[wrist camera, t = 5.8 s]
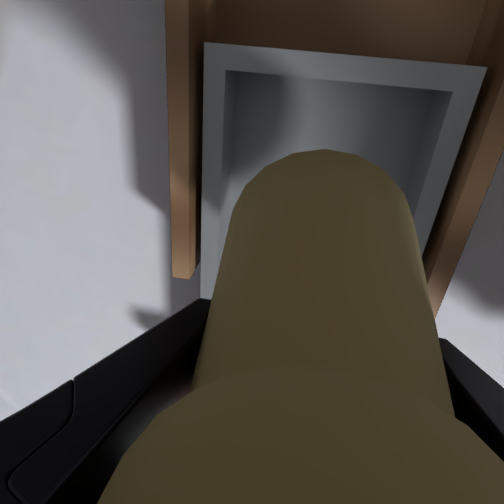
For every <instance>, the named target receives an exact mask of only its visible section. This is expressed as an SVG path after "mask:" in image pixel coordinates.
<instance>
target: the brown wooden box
mask: <svg viewBox="0 0 504 504" xmlns="http://www.w3.org/2000/svg"><path fill="white" fill-rule="evenodd" d="M165 27H166V63H167V98H168V134H169V170H170V205H171V241H172V277H177V278H183V279H190V277H191V275H192V274H193V272H194V270H195V269H196V267H197V265H198V264H199V262H200V260H201V213H202V147H203V82H204V42H209V43H221V44H232V45H243V46H255V47H266V48H277V49H288V50H300V51H311V52H322V53H334V54H345V55H356V56H367V57H379V58H390V59H401V60H413V61H424V62H435V63H446V64H458V65H469V66H480V67H487V70H486V73H485V76H484V79H483V82H482V85H481V88H480V90H479V93H478V96H477V99H476V102H475V105H474V108H473V111H472V113H471V116H470V119H469V122H468V125H467V128H466V131H465V134H464V136H463V139H462V142H461V145H460V148H459V151H458V154H457V157H456V160H455V162H454V165H453V168H452V171H451V174H450V177H449V180H448V183H447V185H446V188H445V191H444V194H443V197H442V200H441V203H440V206H439V208H438V211H437V214H436V217H435V220H434V223H433V226H432V229H431V231H430V234H429V237H428V240H427V243H426V246H425V249H424V252H423V255H422V262H423V267H424V272H425V276H426V281H427V286H428V291H429V295H430V300H431V305H432V310H433V314H434V319H435V318H436V315H437V313H438V310H439V308H440V305H441V303H442V300H443V298H444V295H445V293H446V291H447V288H448V286H449V283H450V281H451V278H452V276H453V273H454V271H455V268H456V266H457V263H458V261H459V258H460V256H461V254H462V251H463V249H464V246H465V244H466V241H467V239H468V236H469V234H470V231H471V229H472V226H473V224H474V221H475V219H476V217H477V214H478V212H479V209H480V207H481V204H482V202H483V199H484V197H485V194H486V192H487V189H488V187H489V184H490V182H491V179H492V177H493V175H494V172H495V170H496V167H497V165H498V162H499V160H500V157H501V155H502V152H503V150H504V0H165Z"/></svg>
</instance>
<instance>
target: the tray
mask: <svg viewBox="0 0 504 504" xmlns="http://www.w3.org/2000/svg"><path fill="white" fill-rule="evenodd" d="M486 70H487V67H480V66H469V65H458V64H446V63H435V62H424V61H413V60H401V59H390V58H379V57H367V56H356V55H345V54H334V53H322V52H311V51H300V50H288V49H277V48H266V47H255V46H243V45H232V44H221V43H209V42H204V82H203V147H202V213H201V278H200V298H205V299H212V295H213V291H214V287H215V282H216V278H217V274H218V270H219V265H220V261H221V257H222V253H223V248H224V244H225V240H226V236H227V231H228V227H229V223H230V219H231V214H232V210H233V208H234V206H235V204H236V202H237V200H238V198H239V196H240V194H241V192H242V191H243V189H244V187H245V185H246V184H247V183H248V182H250V181H251V180H252V179H253V178H254V177H255V176H256V175H257V174H258V173H259V172H260V171H261V170H262V169H263V168H264V167H265V166H267V165H269V164H271V163H273V162H275V161H277V160H280V159H282V158H284V157H286V156H288V155H290V154H292V153H296V152H304V151H312V150H320V149H329V150H334V151H340V152H345V153H350V154H355V155H358V156H360V157H362V158H364V159H366V160H367V161H369V162H371V163H373V164H374V165H376V166H378V167H380V168H381V169H383V170H385V171H386V172H387V174H388V175H389V176H390V177H391V178H392V179H393V181H394V182H395V183H396V184H397V185H398V187H399V188H400V189H401V190H402V191H403V192H404V194H405V197H406V200H407V203H408V205H409V208H410V211H411V214H412V217H413V220H414V224H415V229H416V234H417V238H418V243H419V248H420V253H421V257H422V255H423V252H424V249H425V246H426V243H427V240H428V237H429V234H430V231H431V229H432V226H433V223H434V220H435V217H436V214H437V211H438V208H439V206H440V203H441V200H442V197H443V194H444V191H445V188H446V185H447V183H448V180H449V177H450V174H451V171H452V168H453V165H454V162H455V160H456V157H457V154H458V151H459V148H460V145H461V142H462V139H463V136H464V134H465V131H466V128H467V125H468V122H469V119H470V116H471V113H472V111H473V108H474V105H475V102H476V99H477V96H478V93H479V90H480V88H481V85H482V82H483V79H484V76H485V73H486Z"/></svg>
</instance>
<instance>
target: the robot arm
mask: <svg viewBox="0 0 504 504" xmlns="http://www.w3.org/2000/svg"><path fill="white" fill-rule="evenodd" d="M210 303H211V299H205V298H199V299H197V300H195V301H194V302H192V303H191V304H189V305H187V306H186V307H184V308H183V309H181V310H179V311H178V312H176V313H175V314H173V315H172V316H170V317H168V318H167V319H165V320H164V321H162V322H161V323H159V324H157V325H156V326H154V327H153V328H151V329H149V330H148V331H146V332H145V333H143V334H142V335H140V336H138V337H137V338H135V339H134V340H132V341H131V342H129V343H127V344H126V345H124V346H123V347H121V348H120V349H118V350H116V351H115V352H113V353H112V354H110V355H108V356H107V357H105V358H104V359H102V360H101V361H99V362H97V363H96V364H94V365H93V366H91V367H90V368H88V369H86V370H85V371H83V372H82V373H80V374H78V375H77V376H75V377H74V379H73V380H69V381H67V382H66V383H64V384H62V385H61V386H59V387H58V388H56V389H55V390H53V391H51V392H50V393H48V394H46V395H45V396H43V397H41V398H40V399H38V400H36V401H35V402H33V403H32V404H30V405H28V406H27V407H25V408H23V409H22V410H20V411H18V412H16V413H14V414H13V415H11V416H9V417H7V418H5V419H4V420H2V421H0V504H97V502H98V500H99V498H100V496H101V495H102V493H103V491H104V489H105V487H106V485H107V483H108V482H109V480H110V478H111V476H112V475H113V473H114V471H115V469H116V467H117V466H118V464H119V462H120V460H121V458H122V457H123V455H124V453H125V452H126V451H127V450H128V449H129V448H130V446H131V445H132V444H133V443H134V442H135V440H136V439H137V438H138V437H139V436H140V434H141V433H142V432H143V431H144V430H145V429H146V427H147V426H148V425H149V424H150V423H151V421H152V420H153V419H154V418H155V417H156V416H157V414H159V413H160V412H162V411H163V410H165V409H166V408H168V407H169V406H171V405H173V404H174V403H176V402H177V401H179V400H180V399H182V398H183V397H185V396H186V395H188V394H189V393H190V388H191V384H192V380H193V376H194V371H195V367H196V363H197V359H198V354H199V350H200V346H201V342H202V337H203V333H204V329H205V325H206V321H207V318H208V313H209V308H210ZM439 343H440V348H441V353H442V357H443V362H444V367H445V372H446V376H447V381H448V386H449V391H450V395H451V400H452V405H453V410H454V414H455V418H456V419H458V420H459V421H461V422H463V423H464V424H466V425H468V426H469V427H470V428H471V430H472V431H473V432H474V433H475V434H476V435H477V436H478V437H479V438H480V439H481V440H482V441H483V442H484V443H485V444H486V445H487V446H488V447H489V448H490V449H491V450H492V451H493V452H494V453H495V454H496V455H497V456H498V457H499V458H500V459H501V460H502V461H503V462H504V388H503V387H502V386H501V385H499V384H498V383H497V382H496V381H495V380H494V379H492V378H491V377H490V376H489V375H488V374H487V373H485V372H484V371H483V370H482V369H481V368H480V367H478V366H477V365H476V364H475V363H474V362H472V361H471V360H470V359H469V358H468V357H467V356H465V355H464V354H463V353H462V352H461V351H460V350H458V349H457V348H456V347H455V346H454V345H453V344H451V343H450V342H449V341H448V340H446V339H443V338H439Z"/></svg>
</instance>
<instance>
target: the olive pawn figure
mask: <svg viewBox="0 0 504 504" xmlns="http://www.w3.org/2000/svg"><path fill="white" fill-rule="evenodd" d="M97 504H504V462H503V461H502V460H501V459H500V458H499V457H498V456H497V455H496V454H495V453H494V452H493V451H492V450H491V449H490V448H489V447H488V446H487V445H486V444H485V443H484V442H483V441H482V440H481V439H480V438H479V437H478V436H477V435H476V434H475V433H474V432H473V431H472V430H471V428H470V427H469V426H468V425H466V424H464V423H463V422H461V421H459V420H458V419H456V418H455V414H454V410H453V405H452V400H451V395H450V391H449V386H448V381H447V376H446V372H445V367H444V362H443V357H442V353H441V348H440V343H439V338H438V334H437V329H436V324H435V319H434V314H433V310H432V305H431V300H430V295H429V291H428V286H427V281H426V276H425V272H424V267H423V262H422V257H421V253H420V248H419V243H418V238H417V234H416V229H415V224H414V220H413V217H412V214H411V211H410V208H409V205H408V203H407V200H406V197H405V194H404V192H403V191H402V190H401V189H400V188H399V187H398V185H397V184H396V183H395V182H394V181H393V179H392V178H391V177H390V176H389V175H388V174H387V172H386V171H385V170H383V169H381V168H380V167H378V166H376V165H374V164H373V163H371V162H369V161H367V160H366V159H364V158H362V157H360V156H358V155H355V154H350V153H345V152H340V151H334V150H329V149H320V150H312V151H304V152H296V153H292V154H290V155H288V156H286V157H284V158H282V159H280V160H277V161H275V162H273V163H271V164H269V165H267V166H265V167H264V168H263V169H262V170H261V171H260V172H259V173H258V174H257V175H256V176H255V177H254V178H253V179H252V180H251V181H250V182H248V183H247V184H246V185H245V187H244V189H243V191H242V192H241V194H240V196H239V198H238V200H237V202H236V204H235V206H234V208H233V210H232V214H231V219H230V223H229V227H228V231H227V236H226V240H225V244H224V248H223V253H222V257H221V261H220V265H219V270H218V274H217V278H216V282H215V287H214V291H213V295H212V299H211V303H210V308H209V313H208V318H207V321H206V325H205V329H204V333H203V337H202V342H201V346H200V350H199V354H198V359H197V363H196V367H195V371H194V376H193V380H192V384H191V388H190V393H189V394H188V395H186V396H185V397H183V398H182V399H180V400H179V401H177V402H176V403H174V404H173V405H171V406H169V407H168V408H166V409H165V410H163V411H162V412H160V413H159V414H157V416H156V417H155V418H154V419H153V420H152V421H151V423H150V424H149V425H148V426H147V427H146V429H145V430H144V431H143V432H142V433H141V434H140V436H139V437H138V438H137V439H136V440H135V442H134V443H133V444H132V445H131V446H130V448H129V449H128V450H127V451H126V452H125V453H124V455H123V457H122V458H121V460H120V462H119V464H118V466H117V467H116V469H115V471H114V473H113V475H112V476H111V478H110V480H109V482H108V483H107V485H106V487H105V489H104V491H103V493H102V495H101V496H100V498H99V500H98V502H97Z"/></svg>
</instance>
